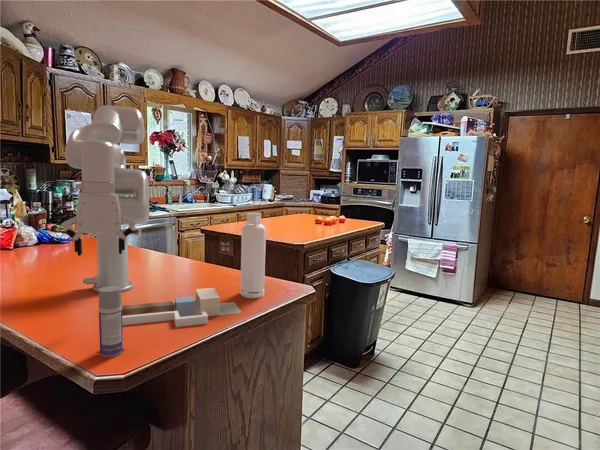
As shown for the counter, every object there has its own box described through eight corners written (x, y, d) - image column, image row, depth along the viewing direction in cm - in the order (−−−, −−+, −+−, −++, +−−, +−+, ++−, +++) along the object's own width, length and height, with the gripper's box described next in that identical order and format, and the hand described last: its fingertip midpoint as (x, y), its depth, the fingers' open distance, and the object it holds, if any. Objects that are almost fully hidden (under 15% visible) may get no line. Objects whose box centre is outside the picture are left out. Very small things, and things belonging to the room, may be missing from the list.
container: (105, 348, 91) (103, 285, 89) (126, 348, 91) (124, 285, 89) (96, 357, 86) (94, 291, 84) (118, 357, 86) (116, 292, 84)
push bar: (120, 320, 106) (120, 309, 105) (120, 316, 109) (120, 305, 108) (174, 315, 111) (174, 304, 111) (173, 311, 114) (173, 301, 114)
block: (176, 316, 111) (176, 302, 110) (174, 310, 115) (174, 297, 115) (194, 314, 112) (194, 301, 112) (192, 308, 117) (192, 295, 116)
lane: (118, 334, 98) (117, 313, 97) (120, 314, 112) (119, 295, 111) (246, 320, 111) (246, 301, 110) (234, 303, 124) (234, 286, 124)
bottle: (254, 299, 128) (256, 215, 125) (235, 295, 133) (236, 213, 129) (268, 293, 135) (271, 213, 132) (250, 289, 140) (252, 211, 136)
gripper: (57, 189, 94) (60, 258, 96) (135, 190, 101) (136, 255, 103) (62, 187, 101) (65, 252, 103) (134, 189, 108) (135, 249, 110)
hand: (100, 253), depth 103 cm, fingers open, 9 cm apart
